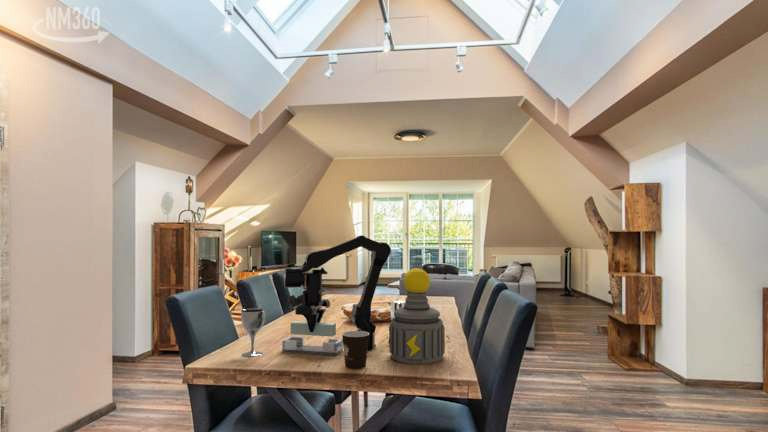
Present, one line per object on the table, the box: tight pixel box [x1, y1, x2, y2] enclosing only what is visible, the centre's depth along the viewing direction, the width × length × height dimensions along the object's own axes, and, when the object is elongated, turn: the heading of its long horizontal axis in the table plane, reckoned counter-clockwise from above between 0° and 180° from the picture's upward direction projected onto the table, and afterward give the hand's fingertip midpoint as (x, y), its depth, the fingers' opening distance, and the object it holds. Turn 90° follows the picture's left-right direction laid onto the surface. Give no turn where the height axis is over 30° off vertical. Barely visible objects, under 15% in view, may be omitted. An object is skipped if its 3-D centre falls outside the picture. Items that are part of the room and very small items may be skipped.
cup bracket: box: [281, 335, 344, 357], centre depth 150 cm, size 20×7×4 cm, turn 78°
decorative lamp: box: [388, 267, 446, 365], centre depth 144 cm, size 19×19×30 cm
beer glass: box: [390, 299, 406, 320], centre depth 168 cm, size 7×7×15 cm
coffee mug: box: [341, 330, 369, 370], centre depth 134 cm, size 12×9×10 cm
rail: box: [290, 320, 337, 338], centre depth 150 cm, size 16×3×4 cm, turn 76°
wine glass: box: [240, 307, 266, 358], centre depth 146 cm, size 8×8×15 cm
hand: (313, 331), depth 150 cm, fingers closed on rail, 3 cm apart
